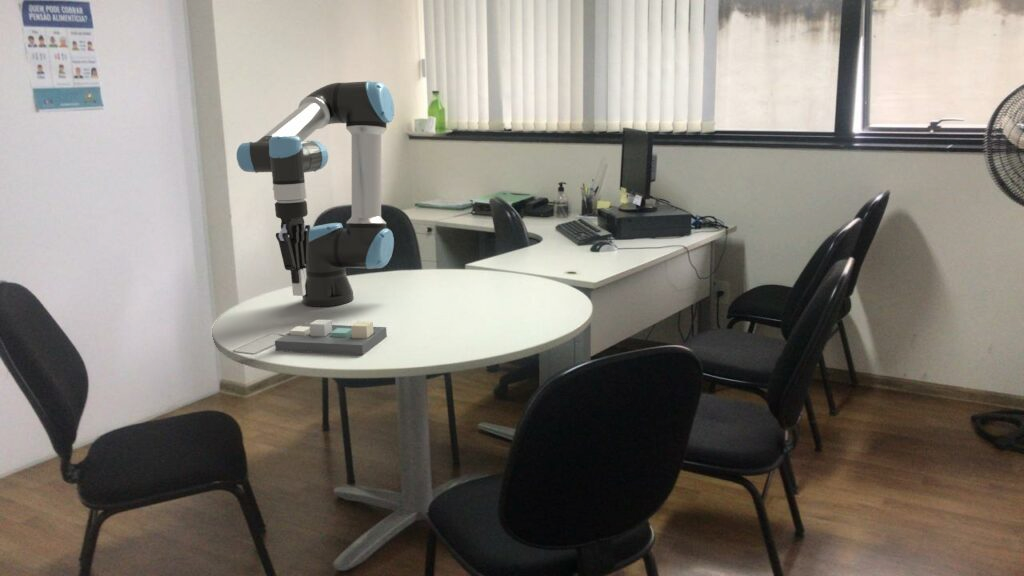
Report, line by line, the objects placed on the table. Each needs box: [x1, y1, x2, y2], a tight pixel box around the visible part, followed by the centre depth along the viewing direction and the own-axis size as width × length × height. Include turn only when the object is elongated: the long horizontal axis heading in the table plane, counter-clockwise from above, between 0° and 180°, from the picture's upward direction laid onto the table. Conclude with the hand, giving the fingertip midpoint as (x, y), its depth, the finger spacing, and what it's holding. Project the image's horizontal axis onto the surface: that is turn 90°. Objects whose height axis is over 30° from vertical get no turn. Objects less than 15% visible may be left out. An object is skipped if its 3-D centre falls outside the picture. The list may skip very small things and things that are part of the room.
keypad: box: [274, 323, 388, 356], centre depth 199 cm, size 15×23×2 cm, turn 77°
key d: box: [350, 320, 374, 338], centre depth 196 cm, size 4×4×3 cm
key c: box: [331, 328, 352, 338], centre depth 198 cm, size 4×4×3 cm
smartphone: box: [232, 333, 285, 355], centre depth 201 cm, size 7×1×15 cm
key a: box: [289, 325, 310, 336], centre depth 201 cm, size 4×4×3 cm
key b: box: [308, 319, 333, 337], centre depth 199 cm, size 4×4×3 cm
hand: (299, 294), depth 198 cm, fingers closed
